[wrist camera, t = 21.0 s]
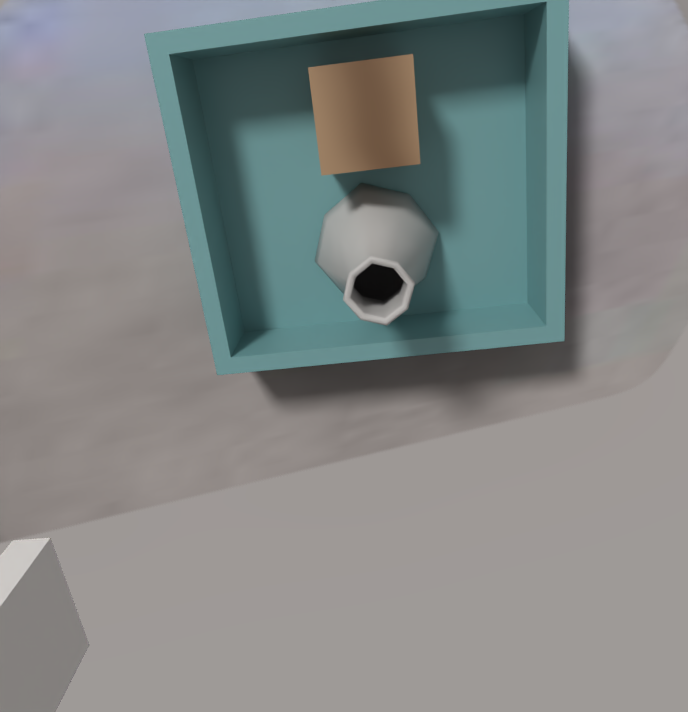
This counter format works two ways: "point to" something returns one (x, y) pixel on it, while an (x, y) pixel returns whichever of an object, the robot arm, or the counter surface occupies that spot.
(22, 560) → the robot arm
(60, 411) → the counter surface
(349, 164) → the walnut cube
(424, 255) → the flask
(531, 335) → the tote
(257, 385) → the counter surface
